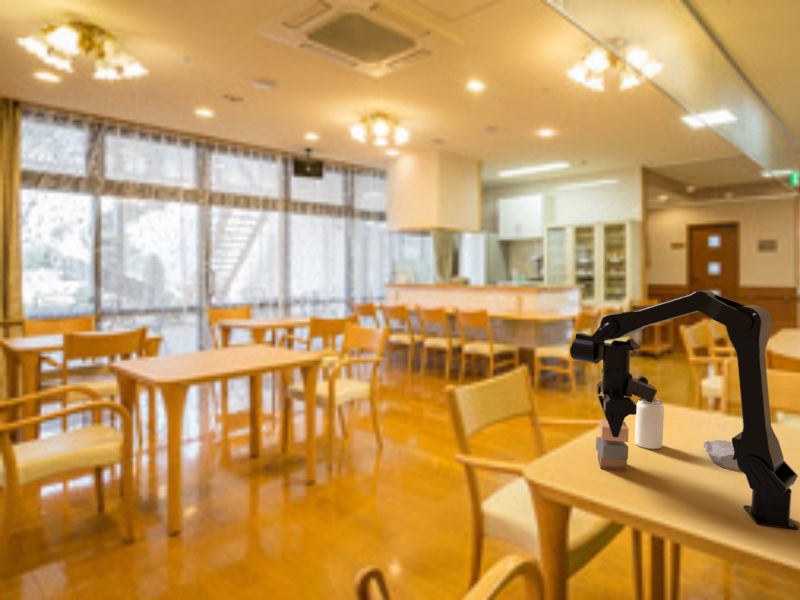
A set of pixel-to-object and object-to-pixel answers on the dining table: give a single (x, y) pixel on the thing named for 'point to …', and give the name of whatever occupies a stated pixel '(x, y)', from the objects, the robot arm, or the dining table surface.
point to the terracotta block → (607, 434)
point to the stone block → (722, 453)
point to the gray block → (611, 449)
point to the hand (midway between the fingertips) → (613, 432)
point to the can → (649, 424)
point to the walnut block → (612, 463)
